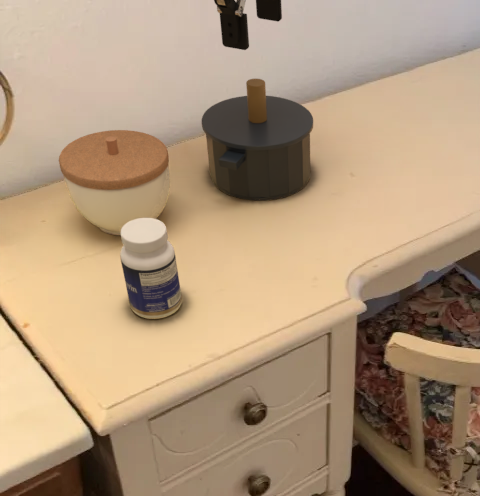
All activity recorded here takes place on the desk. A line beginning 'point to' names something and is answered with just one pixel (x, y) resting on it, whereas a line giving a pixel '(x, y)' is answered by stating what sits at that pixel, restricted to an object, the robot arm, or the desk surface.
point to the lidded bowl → (116, 177)
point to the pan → (259, 170)
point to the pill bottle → (150, 268)
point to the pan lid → (257, 120)
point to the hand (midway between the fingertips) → (253, 32)
